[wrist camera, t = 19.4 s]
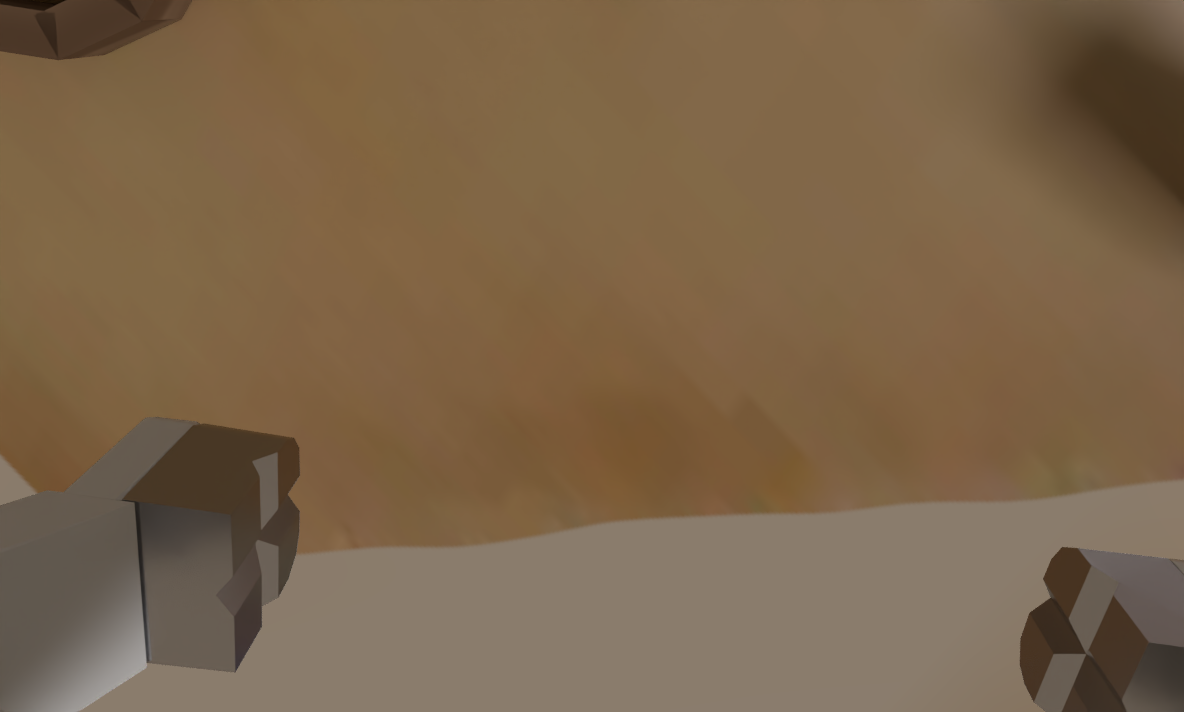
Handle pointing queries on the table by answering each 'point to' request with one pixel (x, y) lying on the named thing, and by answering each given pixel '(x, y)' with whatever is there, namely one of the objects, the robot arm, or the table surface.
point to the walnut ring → (81, 25)
